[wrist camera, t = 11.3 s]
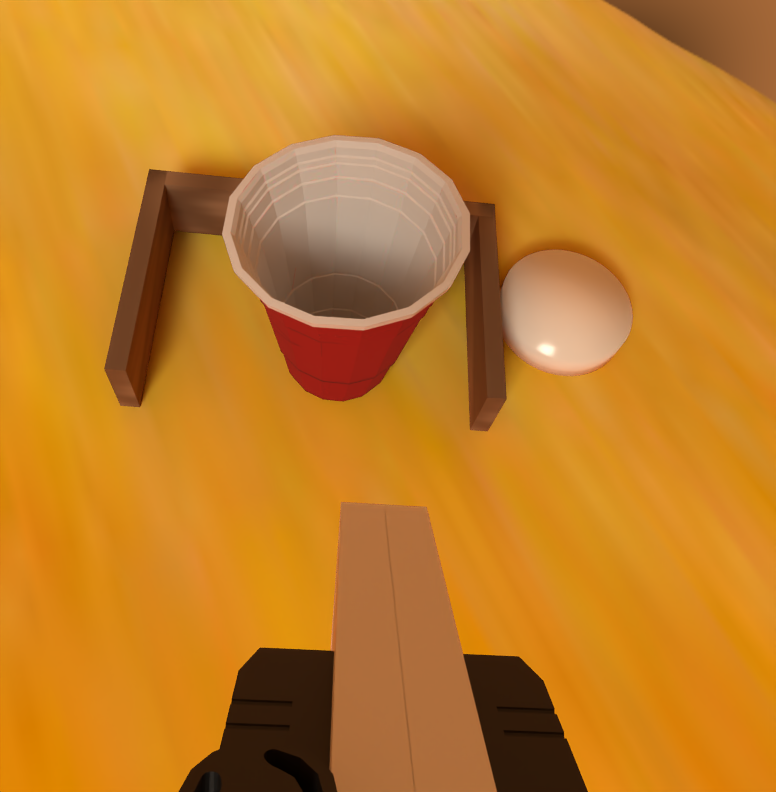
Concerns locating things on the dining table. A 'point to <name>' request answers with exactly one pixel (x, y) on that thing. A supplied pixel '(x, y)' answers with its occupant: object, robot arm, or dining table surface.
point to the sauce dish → (564, 312)
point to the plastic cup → (346, 254)
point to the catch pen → (205, 213)
